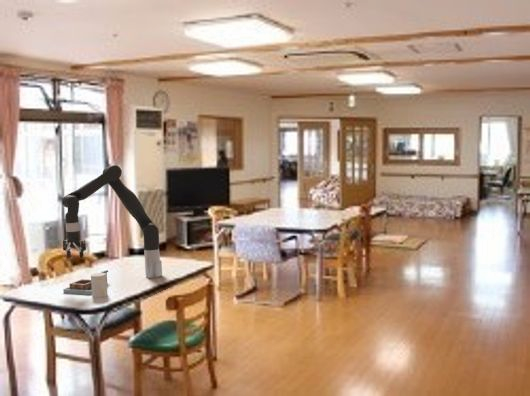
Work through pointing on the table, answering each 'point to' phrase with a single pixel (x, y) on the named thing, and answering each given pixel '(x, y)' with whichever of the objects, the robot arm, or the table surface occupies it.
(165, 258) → the table surface
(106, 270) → the stake
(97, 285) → the cup
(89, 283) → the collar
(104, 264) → the table surface
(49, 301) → the table surface
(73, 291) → the tray
